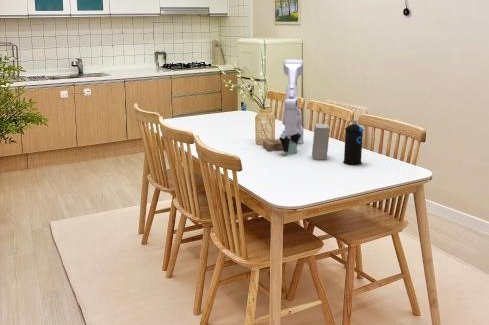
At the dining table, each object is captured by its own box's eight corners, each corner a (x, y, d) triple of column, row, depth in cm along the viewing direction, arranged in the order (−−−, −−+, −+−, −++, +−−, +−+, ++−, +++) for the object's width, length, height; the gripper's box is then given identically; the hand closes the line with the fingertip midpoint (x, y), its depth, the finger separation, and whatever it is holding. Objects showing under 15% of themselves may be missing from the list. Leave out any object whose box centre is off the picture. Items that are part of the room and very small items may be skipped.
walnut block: (279, 146, 272) (279, 139, 271) (285, 150, 264) (285, 143, 262) (262, 147, 269) (263, 140, 268) (268, 152, 261) (268, 144, 260)
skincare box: (311, 155, 254) (312, 123, 249) (326, 155, 254) (327, 123, 249) (313, 160, 246) (314, 126, 241) (328, 160, 245) (330, 126, 241)
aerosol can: (341, 164, 239) (343, 120, 233) (345, 159, 246) (347, 117, 241) (359, 166, 236) (362, 122, 230) (362, 161, 243) (365, 118, 238)
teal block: (293, 151, 261) (293, 141, 260) (296, 153, 256) (296, 144, 255) (283, 152, 260) (283, 142, 259) (286, 154, 255) (287, 144, 254)
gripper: (291, 119, 262) (290, 146, 266) (275, 124, 251) (275, 151, 255) (303, 121, 258) (302, 148, 262) (288, 126, 247) (287, 154, 250)
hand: (290, 150), depth 258 cm, fingers closed on teal block, 7 cm apart
